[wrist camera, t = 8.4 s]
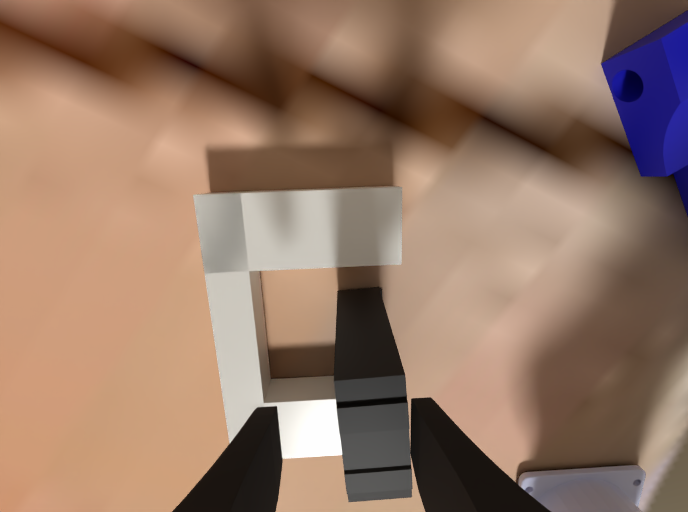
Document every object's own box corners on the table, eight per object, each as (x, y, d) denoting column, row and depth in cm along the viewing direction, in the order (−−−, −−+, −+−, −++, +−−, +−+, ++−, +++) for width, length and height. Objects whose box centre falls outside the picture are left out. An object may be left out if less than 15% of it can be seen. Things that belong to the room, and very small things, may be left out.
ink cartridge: (385, 364, 18) (417, 508, 11) (346, 368, 18) (348, 513, 11) (380, 283, 17) (411, 379, 9) (337, 287, 17) (333, 386, 9)
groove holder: (393, 423, 19) (399, 451, 17) (242, 432, 19) (232, 461, 17) (393, 185, 16) (402, 187, 14) (210, 192, 16) (192, 194, 14)
